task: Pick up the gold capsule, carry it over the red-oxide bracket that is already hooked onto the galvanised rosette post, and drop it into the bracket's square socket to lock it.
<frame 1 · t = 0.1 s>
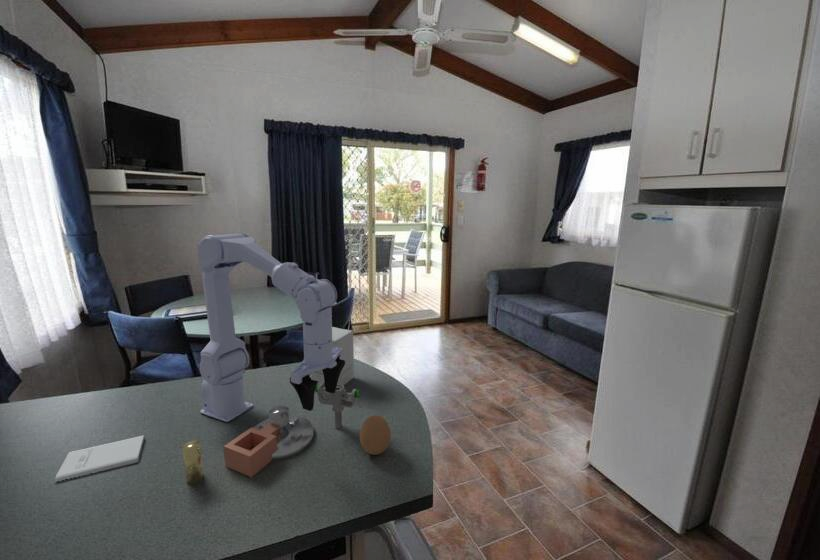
hand: (319, 400, 78), 10 cm above the kitchen counter, tool pointing down, fingers open, 7 cm apart
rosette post: (280, 438, 81), on the kitchen counter
gold capsule: (194, 478, 69), on the kitchen counter
supplement box: (333, 381, 108), on the kitchen counter
external hard drive: (104, 461, 74), on the kitchen counter
mechanical component: (338, 427, 86), on the kitchen counter
egg: (375, 452, 78), on the kitchen counter
bracket: (252, 460, 74), on the kitchen counter
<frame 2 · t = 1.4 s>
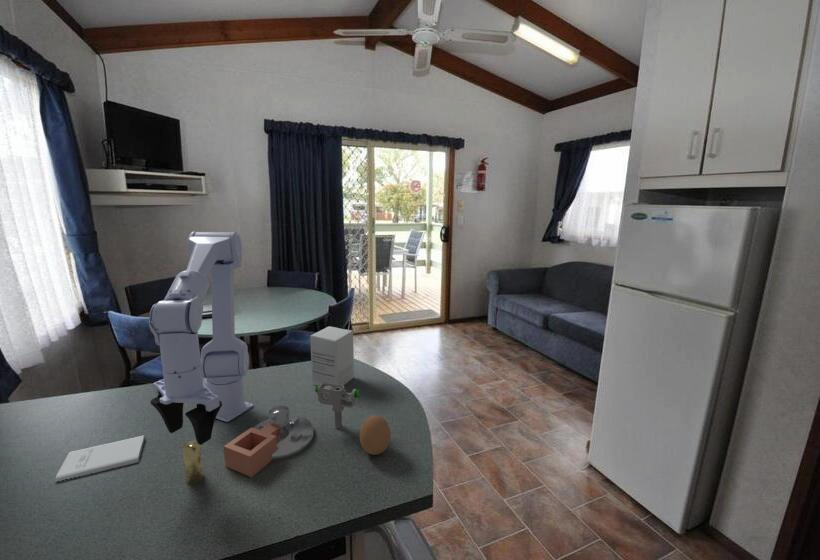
hand: (190, 435, 67), 9 cm above the kitchen counter, tool pointing down, fingers open, 7 cm apart
nothing on the kitchen counter moved.
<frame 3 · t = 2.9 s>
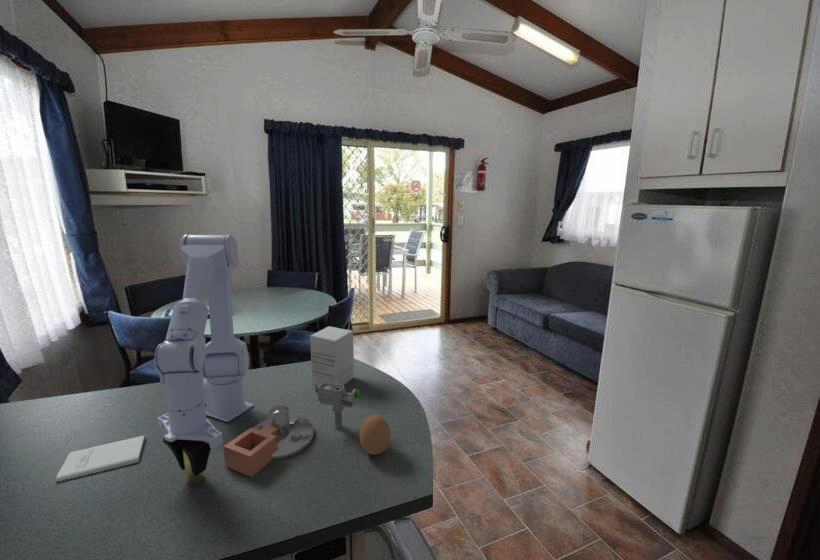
hand: (193, 469, 69), 2 cm above the kitchen counter, tool pointing down, fingers closed on gold capsule, 3 cm apart
gold capsule: (194, 478, 69), on the kitchen counter, touching gripper
everything else where it was.
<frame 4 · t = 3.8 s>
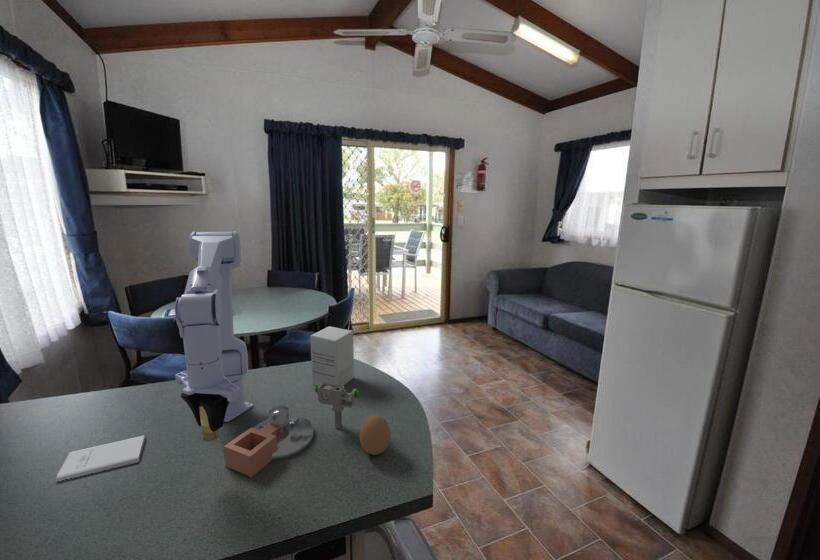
hand: (210, 425, 69), 10 cm above the kitchen counter, tool pointing down, fingers closed on gold capsule, 3 cm apart
gold capsule: (211, 436, 69), point 8 cm above the kitchen counter, touching gripper
everything else where it was.
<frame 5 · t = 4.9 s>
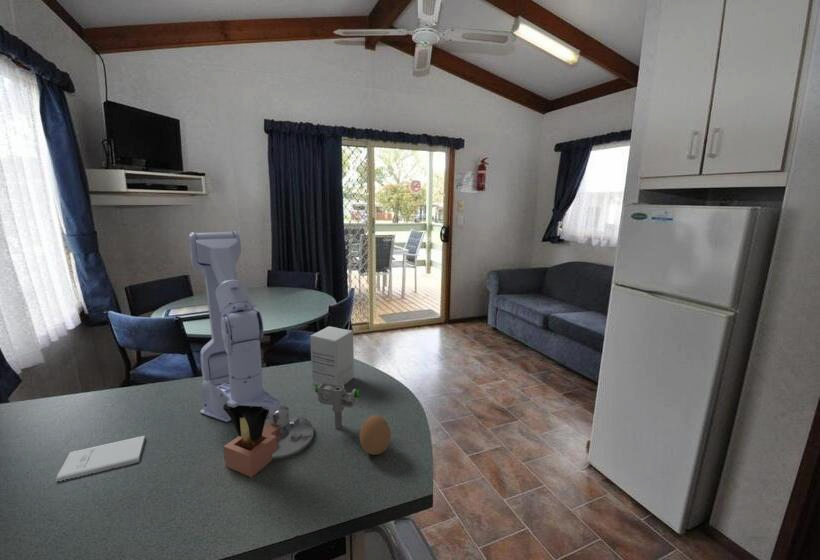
hand: (250, 435, 73), 6 cm above the kitchen counter, tool pointing down, fingers closed on gold capsule, 3 cm apart
gold capsule: (249, 446, 73), point 3 cm above the kitchen counter, touching gripper
everything else where it was.
when the fingers open (5 cm above the kitchen counter, at t = 5.2 s): gold capsule drops 2 cm, resting on bracket.
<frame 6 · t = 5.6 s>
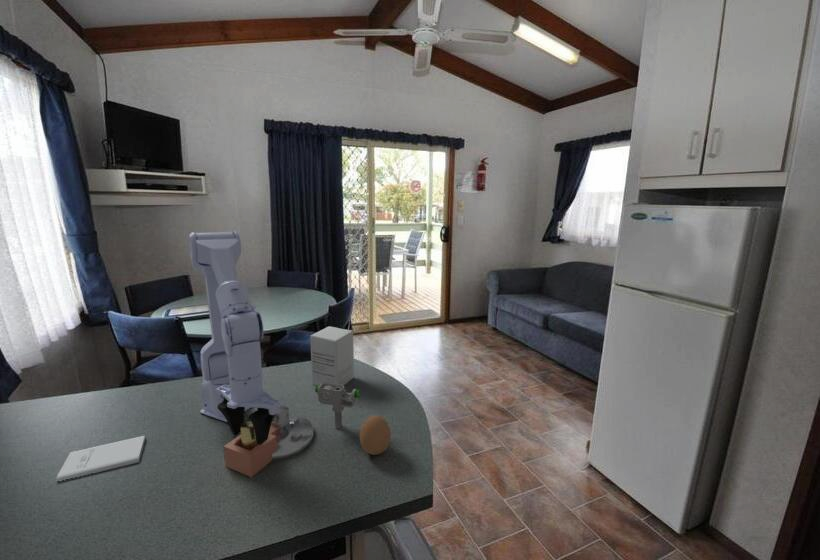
hand: (250, 437, 73), 5 cm above the kitchen counter, tool pointing down, fingers open, 6 cm apart
gold capsule: (250, 456, 74), point 1 cm above the kitchen counter, touching bracket
everything else where it was.
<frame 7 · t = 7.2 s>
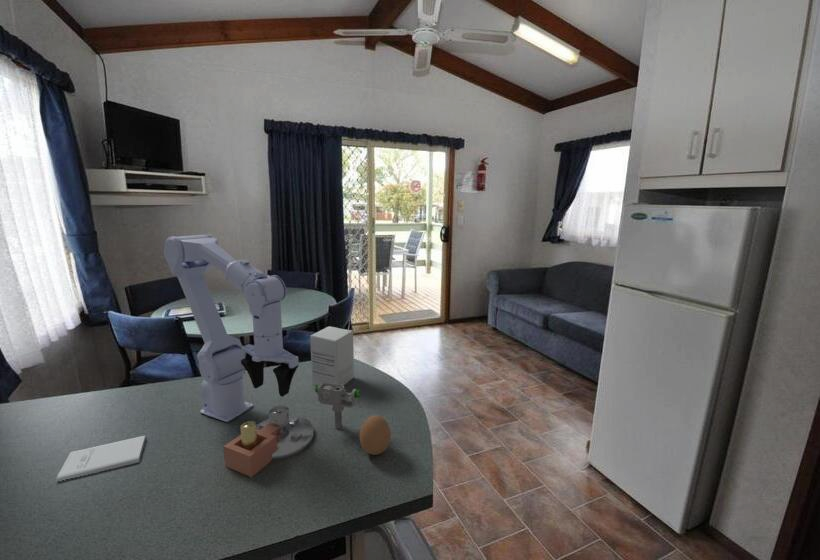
hand: (271, 390, 82), 10 cm above the kitchen counter, tool pointing down, fingers open, 7 cm apart
gold capsule: (250, 456, 74), point 1 cm above the kitchen counter, touching bracket, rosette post
everything else where it was.
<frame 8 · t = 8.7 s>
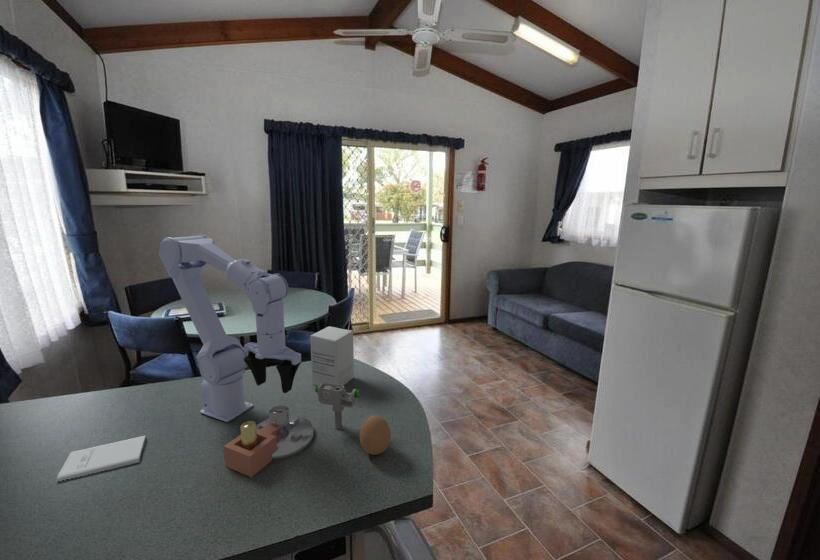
hand: (274, 387, 84), 10 cm above the kitchen counter, tool pointing down, fingers open, 7 cm apart
nothing on the kitchen counter moved.
at the end: gold capsule 0.3 cm off-centre on the bracket, point 1.2 cm above the bracket's base; gold capsule tilted 0°; the gripper is holding nothing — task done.
